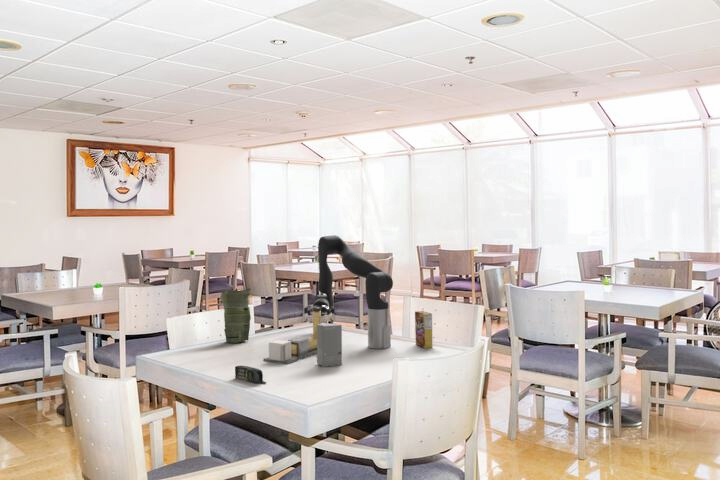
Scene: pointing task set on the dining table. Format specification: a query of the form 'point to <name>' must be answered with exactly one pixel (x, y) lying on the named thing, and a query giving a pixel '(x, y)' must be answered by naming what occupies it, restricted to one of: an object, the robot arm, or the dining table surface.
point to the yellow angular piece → (313, 340)
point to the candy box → (423, 329)
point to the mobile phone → (249, 374)
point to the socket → (280, 350)
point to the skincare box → (329, 344)
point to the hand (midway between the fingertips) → (318, 312)
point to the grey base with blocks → (302, 351)
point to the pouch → (236, 315)
